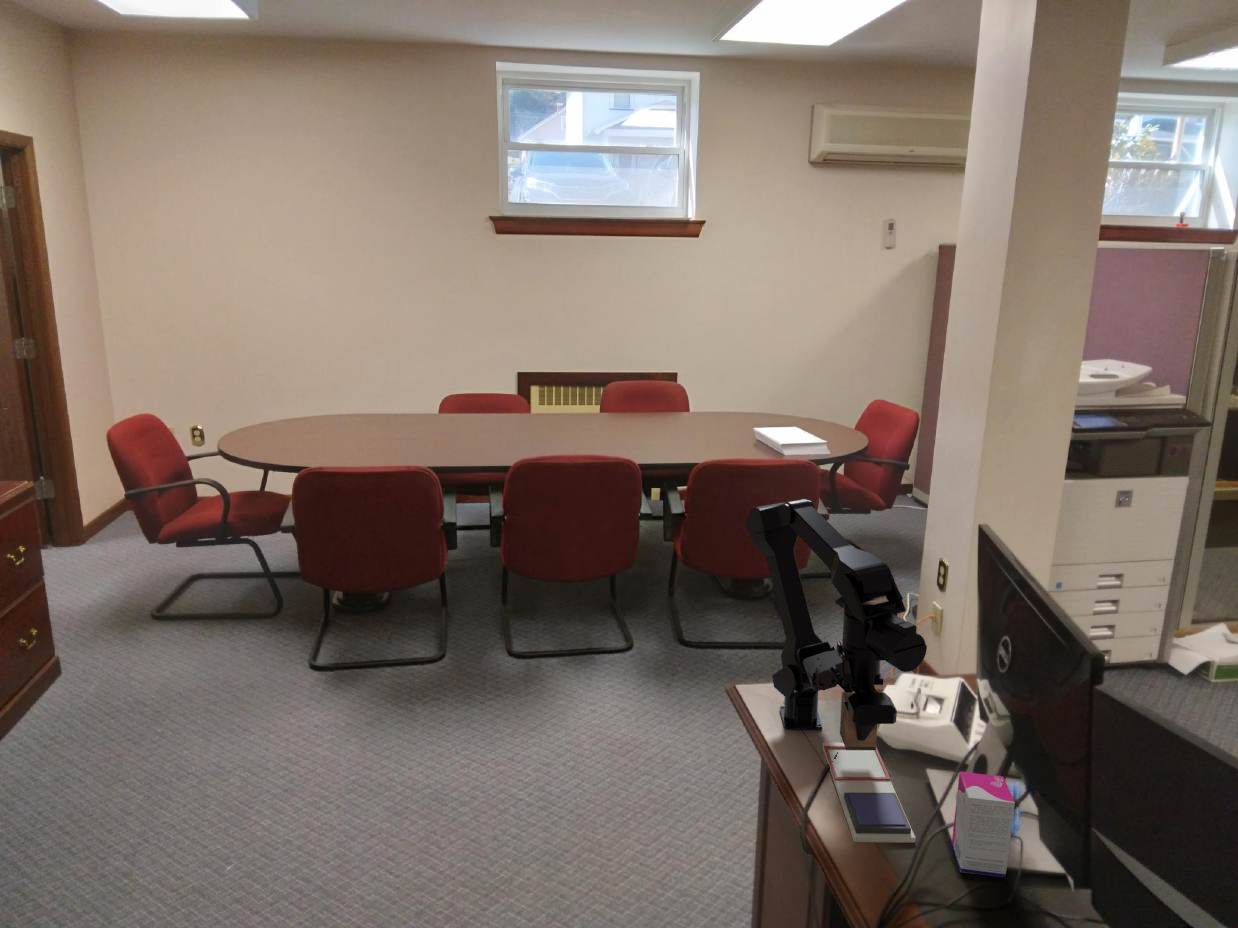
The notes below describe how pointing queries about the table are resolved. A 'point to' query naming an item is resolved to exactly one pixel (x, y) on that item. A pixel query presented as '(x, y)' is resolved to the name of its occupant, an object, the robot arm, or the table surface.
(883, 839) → the blotter board
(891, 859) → the table surface
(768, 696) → the table surface
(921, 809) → the table surface
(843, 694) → the stamp
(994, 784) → the supplement box
